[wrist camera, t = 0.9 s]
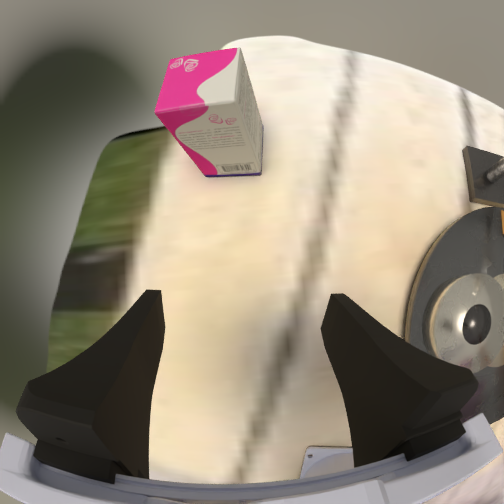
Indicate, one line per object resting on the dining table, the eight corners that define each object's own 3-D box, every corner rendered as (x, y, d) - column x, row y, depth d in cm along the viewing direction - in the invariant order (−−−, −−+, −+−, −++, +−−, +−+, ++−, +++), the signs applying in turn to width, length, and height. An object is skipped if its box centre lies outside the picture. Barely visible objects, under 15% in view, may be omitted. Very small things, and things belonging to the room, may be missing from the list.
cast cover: (484, 363, 18) (501, 369, 15) (415, 368, 20) (429, 377, 17) (493, 278, 19) (512, 275, 16) (426, 273, 21) (441, 270, 18)
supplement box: (264, 124, 28) (243, 44, 17) (262, 176, 27) (236, 105, 16) (209, 128, 29) (168, 56, 17) (203, 178, 28) (151, 116, 17)
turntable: (533, 405, 17) (540, 408, 15) (383, 433, 21) (387, 440, 19) (550, 224, 19) (557, 222, 18) (409, 196, 23) (415, 191, 22)
